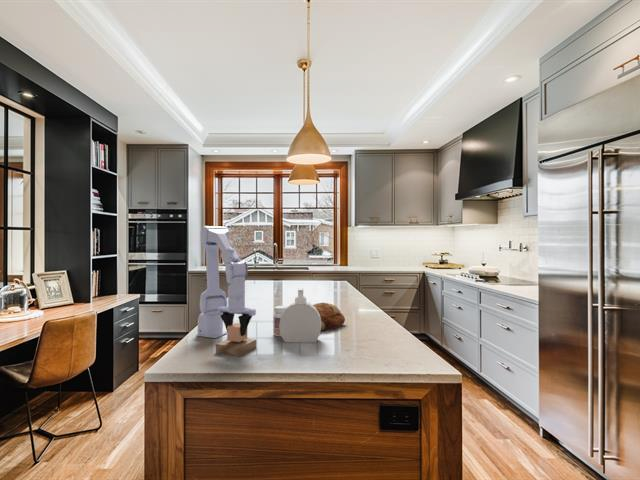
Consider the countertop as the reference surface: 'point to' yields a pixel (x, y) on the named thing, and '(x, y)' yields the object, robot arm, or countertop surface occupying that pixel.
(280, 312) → the pill bottle
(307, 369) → the countertop surface
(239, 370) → the countertop surface
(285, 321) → the soap bottle
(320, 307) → the bread
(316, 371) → the countertop surface
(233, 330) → the terracotta block
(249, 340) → the walnut base
